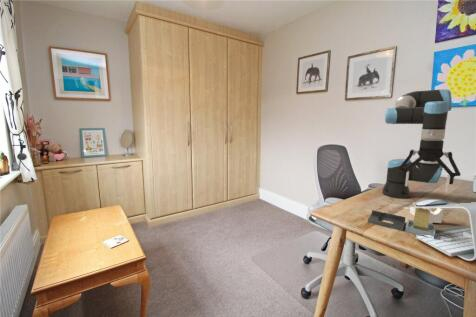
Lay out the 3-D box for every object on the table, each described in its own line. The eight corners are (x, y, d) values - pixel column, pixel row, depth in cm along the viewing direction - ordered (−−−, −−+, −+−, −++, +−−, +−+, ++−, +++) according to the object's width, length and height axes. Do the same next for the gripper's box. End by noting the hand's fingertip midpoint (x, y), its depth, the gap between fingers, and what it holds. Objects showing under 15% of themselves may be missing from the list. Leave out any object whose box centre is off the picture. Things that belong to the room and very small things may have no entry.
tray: (407, 223, 111) (407, 219, 111) (434, 229, 105) (435, 225, 104) (405, 231, 104) (405, 227, 103) (434, 238, 97) (435, 233, 97)
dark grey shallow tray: (371, 215, 121) (372, 210, 120) (404, 223, 112) (405, 217, 111) (367, 222, 113) (368, 216, 113) (402, 230, 104) (403, 224, 104)
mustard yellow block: (413, 226, 108) (416, 206, 106) (427, 229, 104) (430, 209, 103) (412, 230, 104) (415, 209, 102) (427, 233, 101) (430, 212, 99)
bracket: (441, 224, 110) (443, 209, 109) (424, 223, 111) (426, 208, 110) (424, 213, 123) (426, 200, 121) (409, 213, 124) (411, 199, 123)
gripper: (395, 138, 102) (390, 185, 106) (475, 142, 86) (466, 196, 90) (397, 137, 108) (392, 181, 112) (473, 140, 92) (464, 191, 96)
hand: (425, 188), depth 101 cm, fingers open, 13 cm apart
